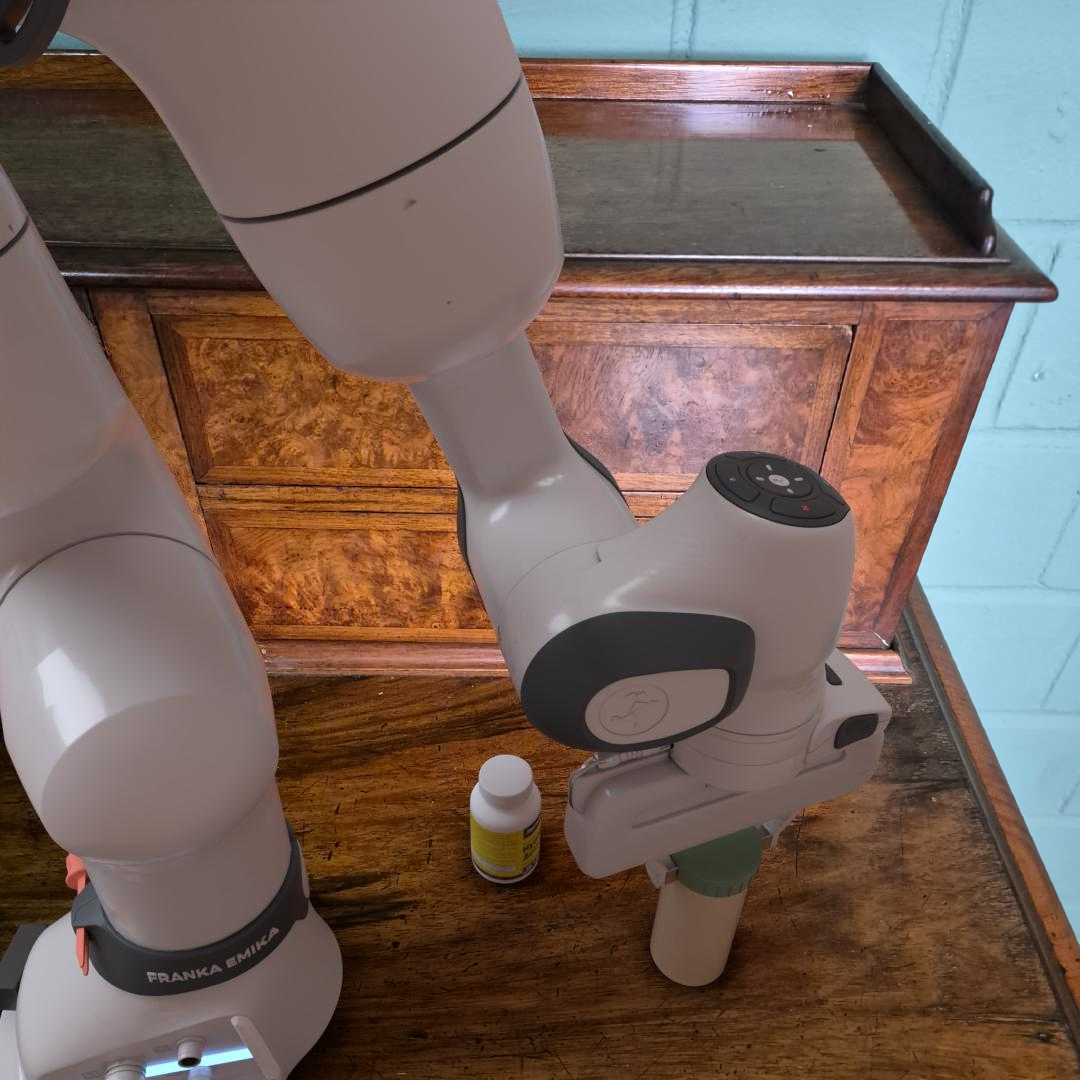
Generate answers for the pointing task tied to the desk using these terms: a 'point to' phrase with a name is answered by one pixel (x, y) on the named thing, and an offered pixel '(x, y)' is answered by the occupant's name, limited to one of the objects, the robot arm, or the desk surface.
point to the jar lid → (721, 864)
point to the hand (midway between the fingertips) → (711, 858)
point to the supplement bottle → (505, 820)
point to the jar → (693, 933)
